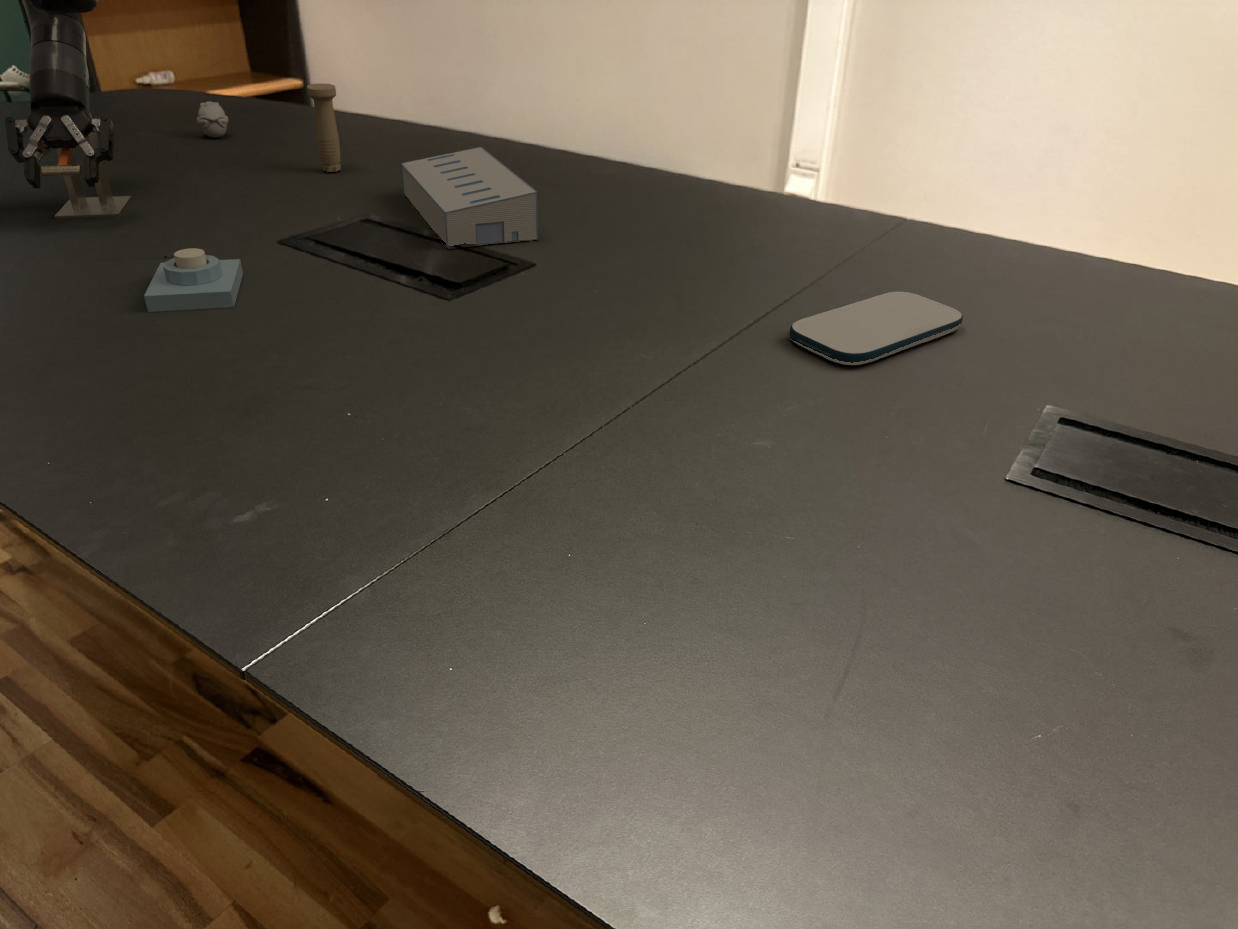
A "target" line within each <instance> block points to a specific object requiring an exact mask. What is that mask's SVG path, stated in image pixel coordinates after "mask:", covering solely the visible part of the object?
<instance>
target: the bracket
mask: <svg viewBox="0 0 1238 929" xmlns="http://www.w3.org/2000/svg"><path fill="white" fill-rule="evenodd" d="M90 117H91V119H93V116H92V112H90ZM85 139H86V140H87V142H88V143H89V145H90V146H91V147H92V149H96V148H99V137H98V134H97V130H96V128H94V129H93V130H92V131H91V132H90V134H89V135H88V136H87V137H86V138H85ZM61 150H62V148H55V152H56V156H57V158H58V160H59V158H60V154H61ZM104 161H105V160H104ZM104 161H101V162H100V163H99V182H98V183H95V187H94V188H95V190H96V191H95V192H96V194H97V196H88V197H86V194H85V190H84V186H83V183H82V180H81V175H72V176H63V179H64V183H65V186H66V190H67V193H68V197H69V199H68V200H67V201H66V203H65V204H64V205H62V207H61V208H60V209H59V211H57V213H56V214H55V215H54V219H55V220H61V219H62V220H64V219H67V220H68V219H91V218H92V219H94V218H118V217H120V216H121V215H122V214H123V212H124V210H125V209H126V207H128V205H129V204H130V202H131V201H132V196H131V195H121V196H118V195H117V196H113V192H112V188H111V184H110V181H109V177H108V173H107V168H106V165H105V162H104ZM70 165H77V161H76V158H75V155H74V151H73V152H72V156H71V161H70Z"/></svg>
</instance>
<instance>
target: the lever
mask: <svg viewBox="0 0 1238 929" xmlns="http://www.w3.org/2000/svg"><path fill="white" fill-rule="evenodd" d="M72 152H73V153H74V148H67V147H62V150H61V154H60V158H59V159H58V162H57V164H55V165H41V166H40V172H41V174H42V176H43V177H64V176H72V175H79V176H84V168H83V167H82V165H81V164H76V165H70V161H71V156H72Z"/></svg>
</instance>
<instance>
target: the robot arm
mask: <svg viewBox="0 0 1238 929" xmlns="http://www.w3.org/2000/svg"><path fill="white" fill-rule="evenodd" d="M21 1H22V4H23V8H24V9H25V13H26V16H27V19H28V24H29V28H30V51H31V52H30V58H29V106H30V108H29V109H30V113H29V115H28V117H27V118H26V119H15V118H14V117H13V116H7V117H5V120H4V123H5V131H6V140H7V141H6V142H7V149H8V152H9V154H10V155H11V156H12V158H13V159H14V160H15V161H16V162H17V163H19V164H21V163H23V170H24V173H23V176H24V178H25V180H26V182H27V183H28V184H29V185H31V186H32V188H33V189H41V166H40V163H41V161H42V160H43V158H44V157H45V156H48V155H49V153H50V152H51V151H52V150H53V149H56V148H62V147H67V148H73V149H77V147H79V148H80V149H81V151H82V153H83V154H84V155H85V156H84V157H83V176H84V181H85V183H86V185H87V186H88V187H89V188H96V187H95V183H98V182H99V163H100V162H101V161H107V162H110V161H112V160H113V159H114V152H115V151H114V150H115V133H116V127H115V125H114V124H113V122H112V120H111V118H110V117H109V116H108V115H102V116H100V118H92V119H91V117H90V113H91V97H90V96H91V95H90V87H91V80H90V75H89V68H88V62H87V38H86V32H85V29H84V27H83V25H82V24H81V22H79V20H77V19H75V18H74V17H73V16H70V15H69V14H86V13H91V12H93V11H94V10H95V9H96V8H97V6H98V3H99V0H21ZM94 128H96V132H97V133H98V134H99V136H98V142H99V148H96V149H92V147H91V146H90V145H89V143H88V142H87V140H86V139H85V138H86V137H87V136H88V135H89V134H90V132H91V131H92V130H93V129H94ZM28 130H31V131H32V134H31V135H30V136H29V139H28V144H27V145H26V147H25V146H24V138H25V137H26V135H27V132H28Z"/></svg>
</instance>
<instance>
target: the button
mask: <svg viewBox="0 0 1238 929" xmlns="http://www.w3.org/2000/svg"><path fill="white" fill-rule="evenodd" d="M205 252H206V251H205V250H204V249H202V248H193V247H192V248H191V247H190V248H183V249H180V250H177V251H175V252H174V253H173V258H175V262H176V266H177V268H183V269H189V268H197V267H202V266H205V265H207V261H206V256H205V255H206V253H205Z"/></svg>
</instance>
